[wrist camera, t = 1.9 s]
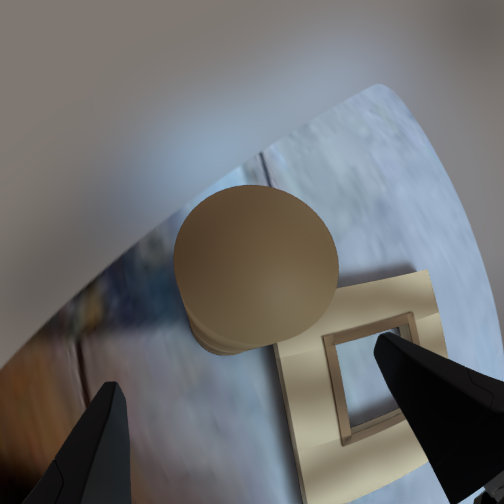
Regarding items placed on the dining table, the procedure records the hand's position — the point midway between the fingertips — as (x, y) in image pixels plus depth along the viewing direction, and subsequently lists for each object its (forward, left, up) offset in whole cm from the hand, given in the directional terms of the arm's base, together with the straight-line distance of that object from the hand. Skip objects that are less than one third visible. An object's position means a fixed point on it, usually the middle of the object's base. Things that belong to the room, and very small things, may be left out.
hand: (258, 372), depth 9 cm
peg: (+3, 0, -10) cm, 10 cm away
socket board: (-4, -10, -10) cm, 15 cm away
